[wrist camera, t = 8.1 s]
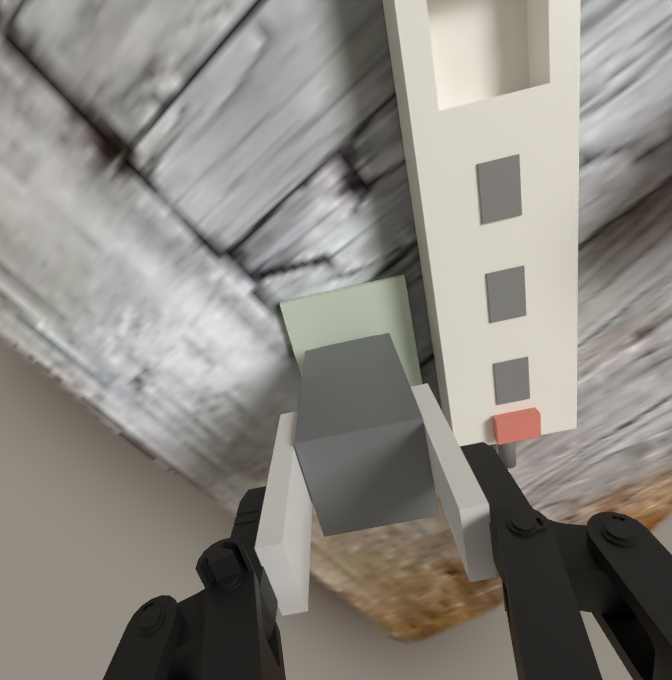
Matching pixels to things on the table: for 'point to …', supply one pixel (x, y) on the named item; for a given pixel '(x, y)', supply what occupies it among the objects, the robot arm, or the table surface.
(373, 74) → the table surface
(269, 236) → the table surface
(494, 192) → the power strip
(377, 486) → the block
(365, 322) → the felt pad
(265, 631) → the robot arm
